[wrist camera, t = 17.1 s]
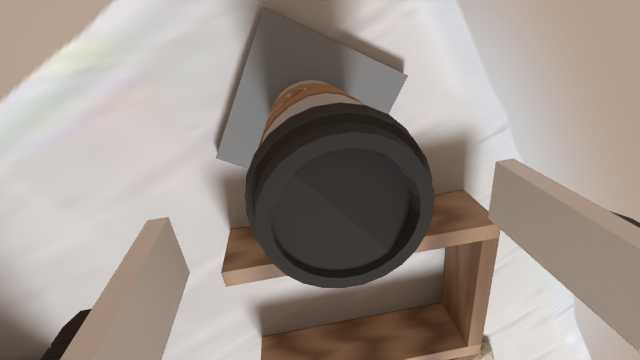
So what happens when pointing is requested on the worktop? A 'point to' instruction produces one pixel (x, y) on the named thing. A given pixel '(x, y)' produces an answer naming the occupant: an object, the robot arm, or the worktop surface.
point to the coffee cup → (336, 188)
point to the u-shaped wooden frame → (401, 326)
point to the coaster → (297, 79)
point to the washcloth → (485, 355)
